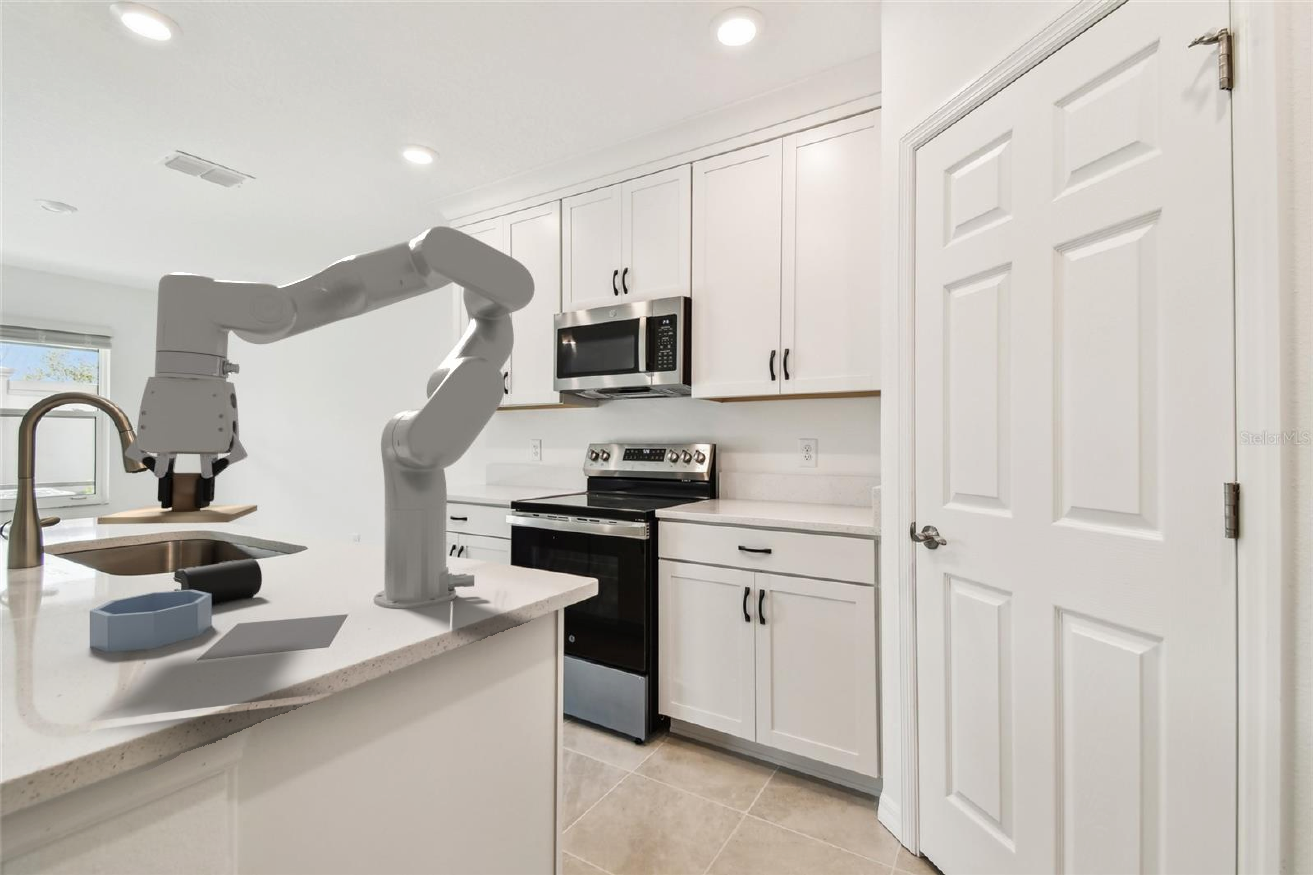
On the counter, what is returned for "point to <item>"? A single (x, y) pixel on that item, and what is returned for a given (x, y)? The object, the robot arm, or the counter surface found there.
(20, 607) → the counter surface
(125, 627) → the bowl
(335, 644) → the counter surface
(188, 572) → the end cap
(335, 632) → the mat
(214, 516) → the lid
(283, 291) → the robot arm
